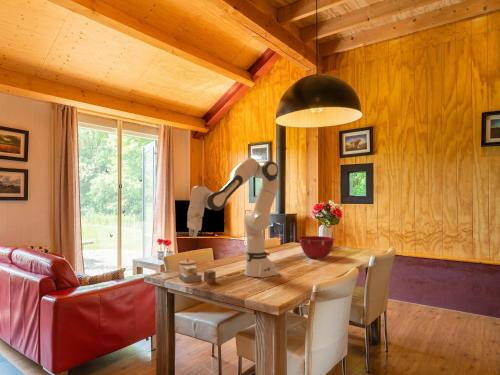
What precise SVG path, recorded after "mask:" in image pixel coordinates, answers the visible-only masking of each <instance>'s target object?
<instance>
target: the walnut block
mask: <svg viewBox="0 0 500 375" xmlns="http://www.w3.org/2000/svg"><path fill="white" fill-rule="evenodd" d="M216 275H217V274H216V271H215V270H214V269H209V270H204V271H203V282H204V281H205V282H204V283H206V282H207V283H206V284H210V283H209V282H214V283H216Z"/></svg>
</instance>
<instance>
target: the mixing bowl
mask: <svg viewBox="0 0 500 375" xmlns="http://www.w3.org/2000/svg"><path fill="white" fill-rule="evenodd" d="M298 240H299V243H300V244H299V245H300V246H301V250H302V252H303V254H304V255H305V256H306V257H308V258H309V259H310V258H311V259H325V258H326V257H328V255H329V254H330V253H331V250H332V248H333V245H334V241H335V238H334V237H329V236H318V235H307V236H299V237H298Z"/></svg>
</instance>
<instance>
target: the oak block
mask: <svg viewBox="0 0 500 375" xmlns="http://www.w3.org/2000/svg"><path fill="white" fill-rule="evenodd" d="M197 273H198V267H197V266H196V267H195V266H187V267H184V274H185V275H187V276H190V275H197Z"/></svg>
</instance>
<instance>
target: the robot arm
mask: <svg viewBox="0 0 500 375" xmlns="http://www.w3.org/2000/svg"><path fill="white" fill-rule="evenodd" d="M253 176H254V177H255V178H256V179H261V186H260V188H259V190H258V192H257V195H256V197H255V199H254V207H253V211H250V212H247V213H246V214H245V216H244V218H243V221H244V226H245V233H246V234H245V235H246V255H245V258H246V263H245V269H244V272H243V273H244V274H243V275H244V276H246V277H251V278H252V277H253V278H268V277H271V276H276V275H280V271H279V270H276V264H275V263H274V261H272V260H270V258H268V257H269V256H270V255H271V253H270V252H266V251H265V249H266V248H265V246H266V245H265V242H266V241H265V236H264V232H263V231H264V230H267V229H268V228H269V225H270V214H271V209H272V206H273V203H274V201H275V198H276V196H277V193H278V189H279V185H280V180H279V179H278V176H279V167H278V165H277V163H276V162H274V161H271V160H263V161H262V160H261V161H257V160H256V159H255V158H253V157H247V158H246V159H244V160H243V161H241V162H240V163H239V164H237V165H236V166H235V167H234V168H233V170H232V171H231V172H230V174H229V179H230V180H228V182H227V183H226V184H224V186H223V187H222V188H221V189H219V190H218V191H217V192H213V191H212V190H210V189H209V188H208V187H207V186H205V185H195V186H193V187H192V188H191V192H190V197H189V206H188V210H187V212H186V213H187V220H186V221H187V222H186V227H187V228H188V234H189V235H188V236H189V237H192V238H193V239H197V236H198V234H199V231H201V230H202V227H203V225H202V224H203V217H204V213H205V208H206V209H208V210H212V211H221V210H222V209H223V208H224V207H225V205H226V204H227V202H228V200H229V198H230V197H231V196H232V195H233V194H234V193H235V192H236V191H237V190H238V189H239V188H241V186H243V185H244V184H246V183H247V182H248V181H249V180H250V179H251V178H252V177H253Z"/></svg>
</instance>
